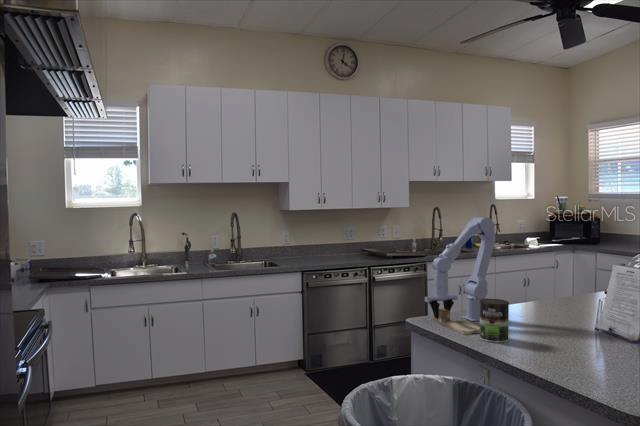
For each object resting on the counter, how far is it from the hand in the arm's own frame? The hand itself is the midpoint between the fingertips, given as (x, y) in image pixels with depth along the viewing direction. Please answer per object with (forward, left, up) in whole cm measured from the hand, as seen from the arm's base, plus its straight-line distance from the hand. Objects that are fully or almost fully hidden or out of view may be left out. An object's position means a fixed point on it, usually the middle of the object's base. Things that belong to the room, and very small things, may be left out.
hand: (441, 317), depth 216 cm
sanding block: (0, 0, -2) cm, 2 cm away
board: (-3, +14, -1) cm, 14 cm away
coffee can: (-4, +31, -2) cm, 31 cm away
